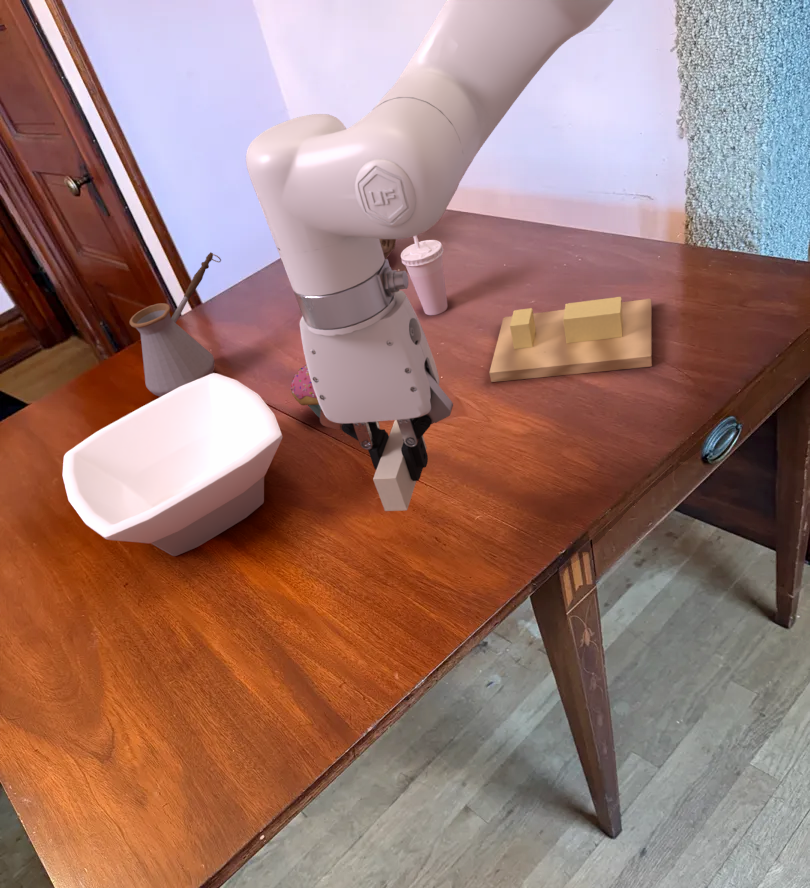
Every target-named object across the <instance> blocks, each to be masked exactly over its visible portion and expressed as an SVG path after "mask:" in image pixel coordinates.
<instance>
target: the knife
mask: <svg viewBox="0 0 810 888" xmlns="http://www.w3.org/2000/svg"><path fill="white" fill-rule="evenodd" d="M388 435H389V438H388V441H387V444H386V446H385V449H384V452H383V454H382V457H381V459H380V461H379V464H378V467H377V470H375V472H374V475H373V478H372V480H373V483H374V486H375V488H376V491H377V493H378V496H379V499H380V501H381V504H382V507H383V510H384V511H385V512H399V511H401V512H403V511H408V509H409V506H410V503H411V499H412V496H413V494H414V489H415V487H416V484H417V481H413V480H411V477H410V474H409V471H408V468H407V465H406V462H405V459H404V456H403V455H402V451H401V448H402V445H403V442H404V441H403V437H402V434H401V431H400V428H399V426H398V423H397V420H393V424H392V427H391V429H390V432H389V434H388ZM422 438H423V442H424V445H425V448H426V450H427V449H428V447H427V444H426V440H425V437H424V434H423V435H422Z"/></svg>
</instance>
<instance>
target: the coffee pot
mask: <svg viewBox="0 0 810 888" xmlns="http://www.w3.org/2000/svg"><path fill="white" fill-rule="evenodd" d="M214 257H216V258H218V259H219V260H216V259H214ZM212 261H213V262H216V263H221V262H222V259H221V257H220V256H218V255H217V254H215V253H213V252H209V253H208V254H207V255H206V256H205V260H204V261H202V262H201V263H200V265H201V267H199V269H198V270H197V271H196V273H195V274H194V275H193V277H192V279H191V281H190V283H189V285H188V287H187V289H186V290H185V293H184V295H183V298H182V299H181V301H180V302H179V304H178V306H177V308H176V309H175V311H174V312H173V314H172V316H171V313H170V312H171V306H170V305H169V304H168V303H166V302H165V303H164V302H163V303H161V302H160V303H155V304H152V305H148V306H146V307H144V308H143V309H140V310H138V311H137V312H135V314H134V315H132V316H131V317H130V319H129V325H130V326H131V327H132V328H135V329H136V330H137V331H138V332H139V335H140V341H141V342H140V343H141V352H142V353H141V354H142V362H143V363H142V364H143V373H144V382H145V387H146V388H147V390H148V391H149V392H150V393H151V394H152V395H155V396H157V397H161V396H163V395H165V394H167V393H169V392H171V391H173V390H175V389H176V388H178V387H180V386H183V385H185V384H187V383H190V382H192V381H195V380H197V379H200V378H202V377H205V376H207V375H209V374H212V373H214V370H215V357H214V355H213V354H212V353H211V352H210V351H209V350H208V349H207V348H205V347H204V346H203V345H202V344H201V343H200V342H198V341H197V340H196V339H195V338H194V337H192V336H191V334H189V333H188V332H187V331H185V330H184V329H183V328H182V327H181V326H179V324H178V323H177V321H178V320H179V318H180V316H181V314H182V312H183V310H184V308H185V307H186V305H187V304H188V301H189V300H190V298H191V297H192V296H193V294H194V293H195V291H196V289H197V288H198V286H199V285H200V284H201V282H202V280H203V278H204V275H205V272H206V270H207V269H209V268H210V266H209V265H210V263H211V262H212Z"/></svg>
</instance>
